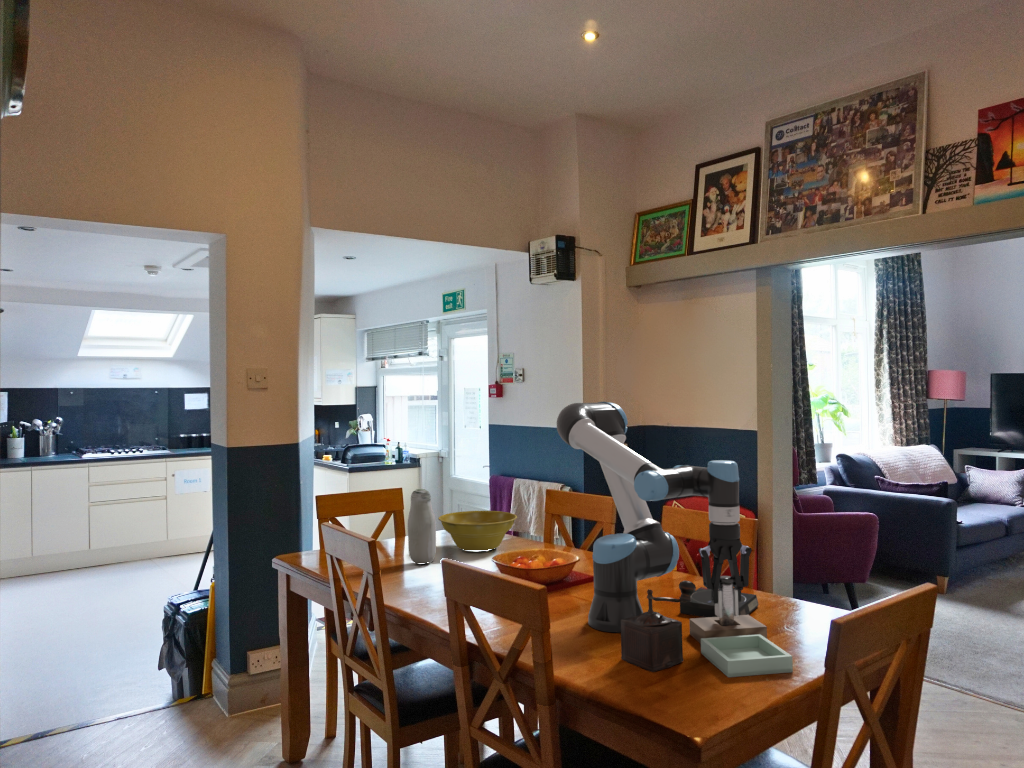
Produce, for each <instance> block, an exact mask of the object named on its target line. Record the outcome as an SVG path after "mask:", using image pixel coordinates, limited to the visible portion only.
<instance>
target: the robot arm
mask: <svg viewBox="0 0 1024 768" xmlns="http://www.w3.org/2000/svg"><path fill="white" fill-rule="evenodd" d="M556 418H557V419H556V430H557V433H558V435H559V436H560V439H561V440H562V441H564V442H565V444H567V445H569V446H570V447H571V448H573V449H574V450H582V451H584V452H585V453H586V454H588V455H589V456H591V457H592V458H593V459H595V460H597V461H598V462H599V464H600V467H601V470H602V472H603V475H604V479H605V481H606V483H607V485H608V489H609V492H610V494H611V497H612V499H613V502H614V504H615V507H616V510H617V513H618V516H619V518H620V520H621V523H622V527H623V528H624V529H623V533H620V532H619V533H618V532H617V533H615V534H613V533H610V534H607V535H603V536H600V537H599V538H597V539H596V540H595V541H594V543H593V547H592V548H593V550H592V567H593V597H592V601H591V604H590V609H589V612H588V615H587V624H588V625H589V626H590V627H591V629H592V628H593V629H594V630H597V631H601V632H606V633H607V632H609V633H621V620H623V619H627V618H630V617H634V616H639V615H640V614H642V613H644V610H643V608H642V605H641V602H640V599H639V596H638V581H642V580H647V579H650V578H657V577H661V576H664V575H667V574H669V573H671V572H672V571H673V570H674V569H676V566H677V564H678V561H679V559H680V558H679V557H680V549H679V545H678V542H677V540H676V538H675V537H674V536H673V535H672V534H670V533H669V532H668V531H664V530H663V527H662V524H661V522H659V521H657V520H655V519H653V516H652V514H651V513H652V512H650V508H649V506H648V503H647V502H651V501H652V502H659V501H661V500H668V499H674V498H682V497H688V496H700V497H707V498H708V499H707V501H708V521H710V522H709V524H708V527H709V529H708V532H709V533H708V535H709V541H708V543H707V546H705V547H703V548H702V547H700V548H698V554H699V555H700V558H701V560H700V562H701V570H702V571H701V572H702V581H703V582H702V585H703V586H704V588H708V589H711V600H712V602H713V603H714V604H715V615H717V616H718V617H719V618H722V591H720V590H719V583H720V576H722V569H723V565H724V561H725V560H727V562H728V567H729V571H730V576H731V577H734V583H733V584H734V616H736V617H737V616H738V602H741V593H742V591H743V590H744V588H745V587H749V583H750V581H749V580H750V579H749V578H750V556H751V553H752V551H753V550H752V549H753V548H752V547H749V546H748V545H743V544H742V541H741V525H740V523H739V522H740V521H741V517H740V516H741V515H740V514H741V512H740V511H741V510H740V476H739V475H740V474H739V467H738V466H739V465H738V463H737V462H736V461H734V460H728V459H727V460H722V459H720V460H719V459H718V460H716V459H715V460H710V461H707V467H705V466H704V467H703V466H696V465H695V466H694V465H689V464H684V465H683V464H681V465H680V464H679V465H675V466H673V467H672V468H661V467H660V466H657V465H656V464H654V463H652V462H651V461H649V459H646V458H645V457H643V456H642V455H640V454H638V453H637V452H635V451H634V450H633V449H631V448H629V447H628V446H627V445H625V444H624V443H625V441H626V440H627V436H626V433H627V431H628V427H627V425H628V424H629V422H628V417H627V414H626V413H625V411H624V410H623V408H622V407H621V406H620V405H618V404H617V403H614V402H612V401H611V402H610V401H609V402H608V401H598V402H574V403H571V404H568V405H566V406H564V407H563V408H562V410H561V411H560V412H559V414H558V416H557V417H556ZM710 552H711V553H712V554H713V559H712V560H713V561H712V562H713V564H712V571H711V561H710V555H711V553H710ZM739 552H740V562H739V564H740V565H739V566H740V567H739V566H738V561H739V560H738V558H737V557H738V556H737V555H738V554H739Z"/></svg>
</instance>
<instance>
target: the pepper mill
mask: <svg viewBox="0 0 1024 768" xmlns="http://www.w3.org/2000/svg"><path fill="white" fill-rule="evenodd" d="M678 588H679V590H680V593H681V594H680V596H679V598H675V597H674V598H673V597H668V596H667V597H664V596H658V597H656V596H653V590H652V589H650V588H649V589H647V591H646V593H647V595H646V599H647V600H648V609H647V611H643V613H642V614H640V615H639V616H634V617H630V618H627V619H623V620H621V632H620V645H621V647H620V651H621V652H620V653H621V654H620V655H621V657H620V659H621V660H622V661H623V662H626V663H628V664H631V665H633V666H635V667H637V668H640V669H643V670H645V671H648V672H651V673H655V672H657V671H663V670H665V669H668V668H672V667H673V666H676V665H679V664H681V663H683V662H684V657H683V654H684V653H683V650H684V649H683V648H684V647H683V623H682V621H679V620H677V619H674V618H671V617H667V616H664V615H663V614H661V613H660V612H657V611H654V609H653V601H656V602H671V603H680V602H683V603H685V602H687V601H688V602H691V601H692V600H691V595H692V594H693V593H694V592H695V591H696V590H697V587H696V584H695V583H694V582H692V581H690V580H682V581H680V582H679V584H678Z"/></svg>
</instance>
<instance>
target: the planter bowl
mask: <svg viewBox="0 0 1024 768" xmlns="http://www.w3.org/2000/svg"><path fill="white" fill-rule="evenodd" d="M517 519H518V516H517V514H514V513H511V512H506V511H498V510H465V511H456V512H455V511H454V512H449V513H445V514H442V515H440V516H438V521H440V522H441V525H442V527H443V530H444V531H445V532H447V533H449V534H450V537H451V539H452V540H453V542H454V544H455V545H456V547H457V548H458V549H460V550H461V549H464V550H488V549H494V548H496V549H497V548H499V546H500V545H501V544H502V541H504V538H505V535H506V533H507V532H509V530H510V531H511V529H512V527H513V525H514V523H515V520H517Z"/></svg>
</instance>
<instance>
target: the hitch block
mask: <svg viewBox="0 0 1024 768" xmlns="http://www.w3.org/2000/svg"><path fill="white" fill-rule="evenodd" d="M688 623H689V635H690V636H691V637H692V638H694V639H695V641H697V642H698V643H699V644H701V638H715V637H729V636H743V635H757V634H761V635H762V636H763V637H765V638H766V639H768V627H767V626H766V625H765V624H764V623H762V622H760V621H759V620H757V619H755V618H754V617H753V616H751V615H750V614H749V615H738V616H737V617H736V616H734V626H721V625H720V623H719V617H696V618H695V617H694V618H689V622H688Z"/></svg>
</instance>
